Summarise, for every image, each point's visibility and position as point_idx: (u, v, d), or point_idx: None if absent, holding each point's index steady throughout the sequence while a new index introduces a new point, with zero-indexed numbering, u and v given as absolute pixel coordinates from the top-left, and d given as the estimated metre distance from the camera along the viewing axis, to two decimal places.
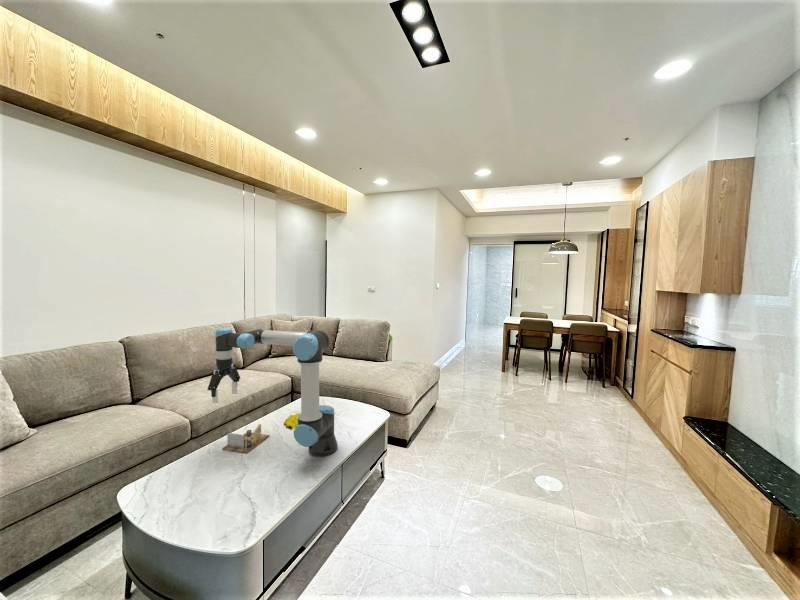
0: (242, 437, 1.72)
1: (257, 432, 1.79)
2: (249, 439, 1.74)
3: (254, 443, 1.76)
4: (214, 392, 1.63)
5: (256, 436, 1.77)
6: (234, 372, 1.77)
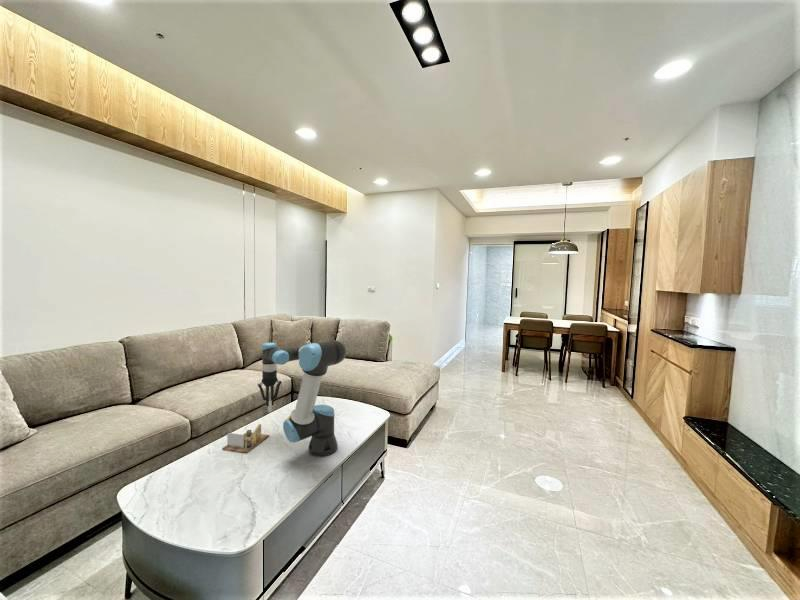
0: (242, 437, 1.72)
1: (257, 432, 1.79)
2: (249, 439, 1.74)
3: (254, 443, 1.76)
4: (267, 402, 1.84)
5: (256, 436, 1.77)
6: (276, 388, 1.87)
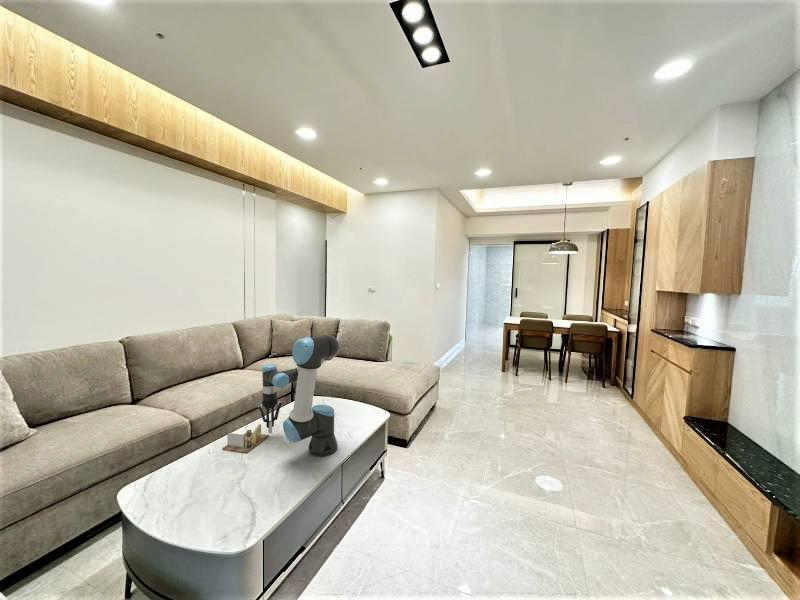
0: (242, 437, 1.72)
1: (257, 432, 1.79)
2: (249, 439, 1.74)
3: (254, 443, 1.76)
4: (267, 423, 1.85)
5: (256, 436, 1.77)
6: (276, 410, 1.88)
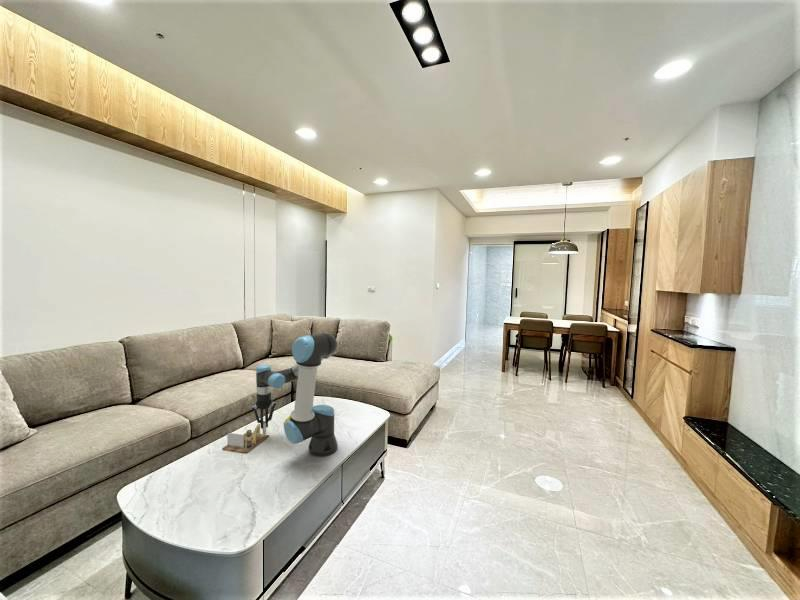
0: (242, 437, 1.72)
1: (257, 432, 1.79)
2: (249, 439, 1.74)
3: (254, 443, 1.76)
4: (261, 424, 1.84)
5: (256, 435, 1.77)
6: (270, 410, 1.86)
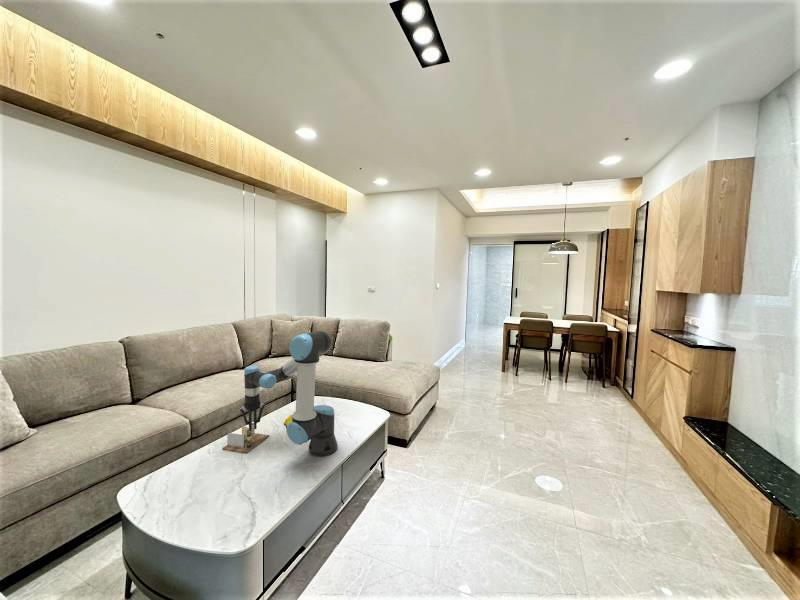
0: (242, 437, 1.72)
1: None
2: (251, 438, 1.74)
3: (252, 442, 1.77)
4: (250, 426, 1.81)
5: None
6: (259, 412, 1.83)
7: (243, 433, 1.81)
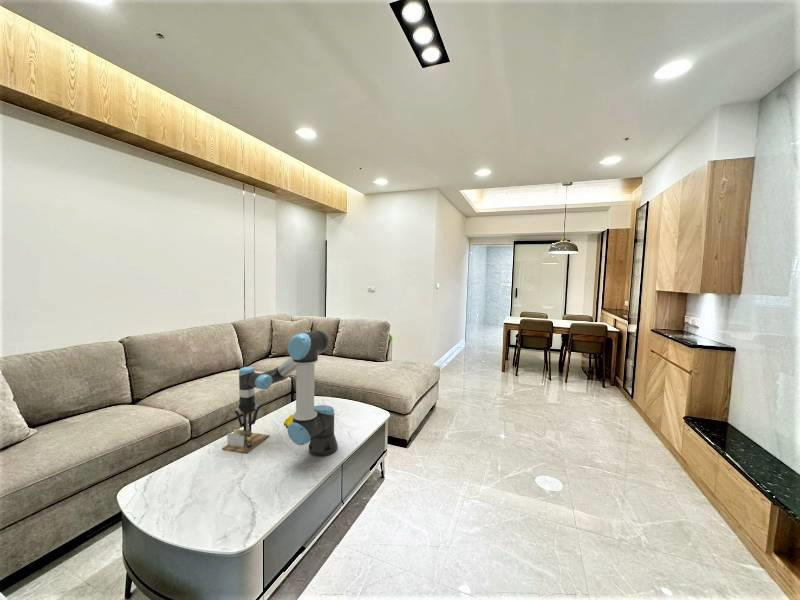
0: (242, 437, 1.72)
1: None
2: (251, 438, 1.75)
3: None
4: (244, 428, 1.79)
5: None
6: (254, 414, 1.82)
7: None
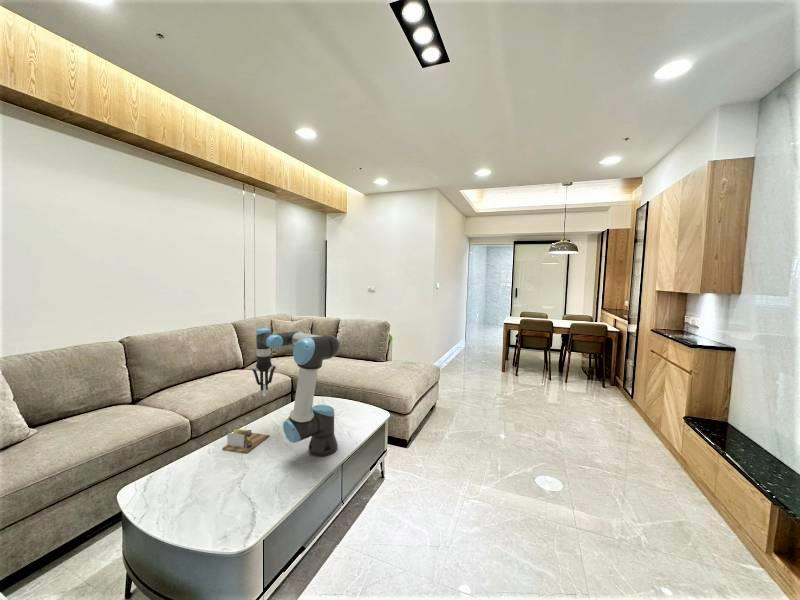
0: (242, 437, 1.72)
1: None
2: (251, 438, 1.75)
3: None
4: (261, 386, 1.87)
5: None
6: (270, 373, 1.90)
7: None
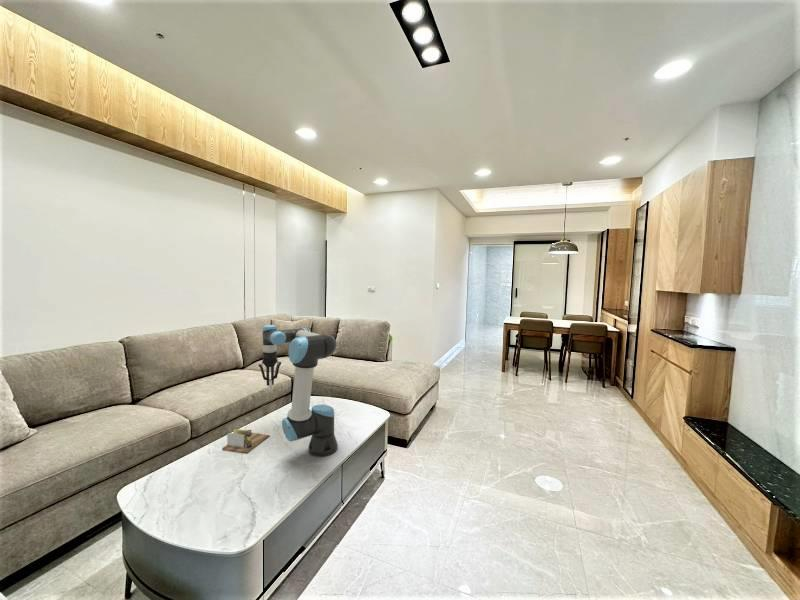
0: (242, 437, 1.72)
1: None
2: (251, 438, 1.75)
3: None
4: (267, 381, 1.92)
5: None
6: (276, 369, 1.95)
7: None
